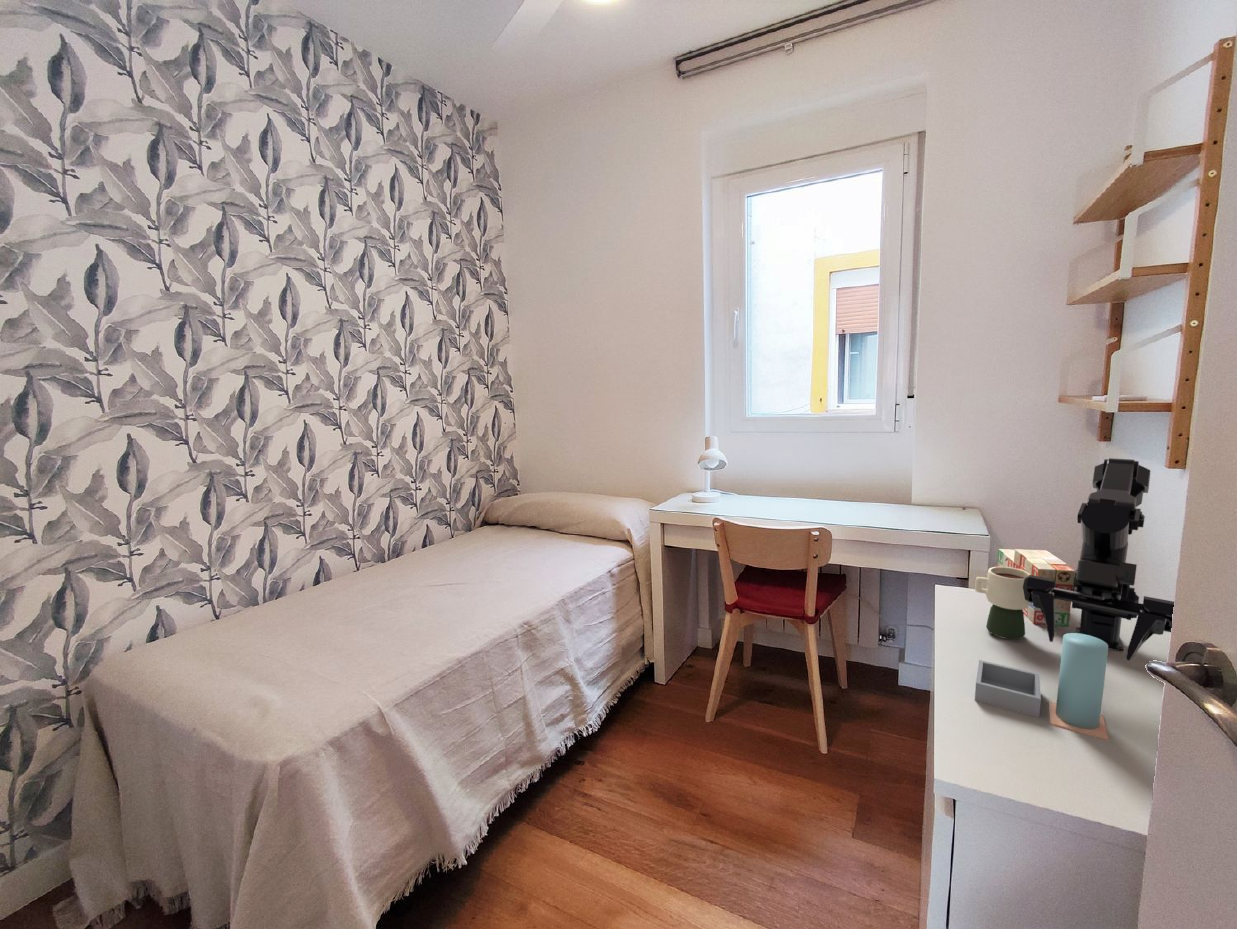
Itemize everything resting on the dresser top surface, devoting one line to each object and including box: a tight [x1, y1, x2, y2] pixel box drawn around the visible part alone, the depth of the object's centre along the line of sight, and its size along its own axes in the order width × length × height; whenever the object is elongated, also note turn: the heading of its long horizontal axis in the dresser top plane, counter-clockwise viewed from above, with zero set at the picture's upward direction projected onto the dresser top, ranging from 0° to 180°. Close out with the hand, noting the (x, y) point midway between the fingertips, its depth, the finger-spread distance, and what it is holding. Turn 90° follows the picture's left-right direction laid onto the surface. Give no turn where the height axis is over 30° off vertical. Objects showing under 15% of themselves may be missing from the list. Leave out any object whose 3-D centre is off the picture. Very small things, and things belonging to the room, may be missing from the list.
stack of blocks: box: [997, 548, 1076, 628], centre depth 119 cm, size 21×6×12 cm, turn 163°
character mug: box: [974, 566, 1031, 640], centre depth 106 cm, size 11×7×13 cm, turn 56°
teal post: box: [1056, 632, 1109, 729], centre depth 80 cm, size 5×5×12 cm
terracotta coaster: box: [1048, 700, 1109, 741], centre depth 81 cm, size 6×6×1 cm
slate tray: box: [974, 659, 1042, 718], centre depth 87 cm, size 8×8×3 cm
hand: (1088, 650), depth 85 cm, fingers open, 9 cm apart
